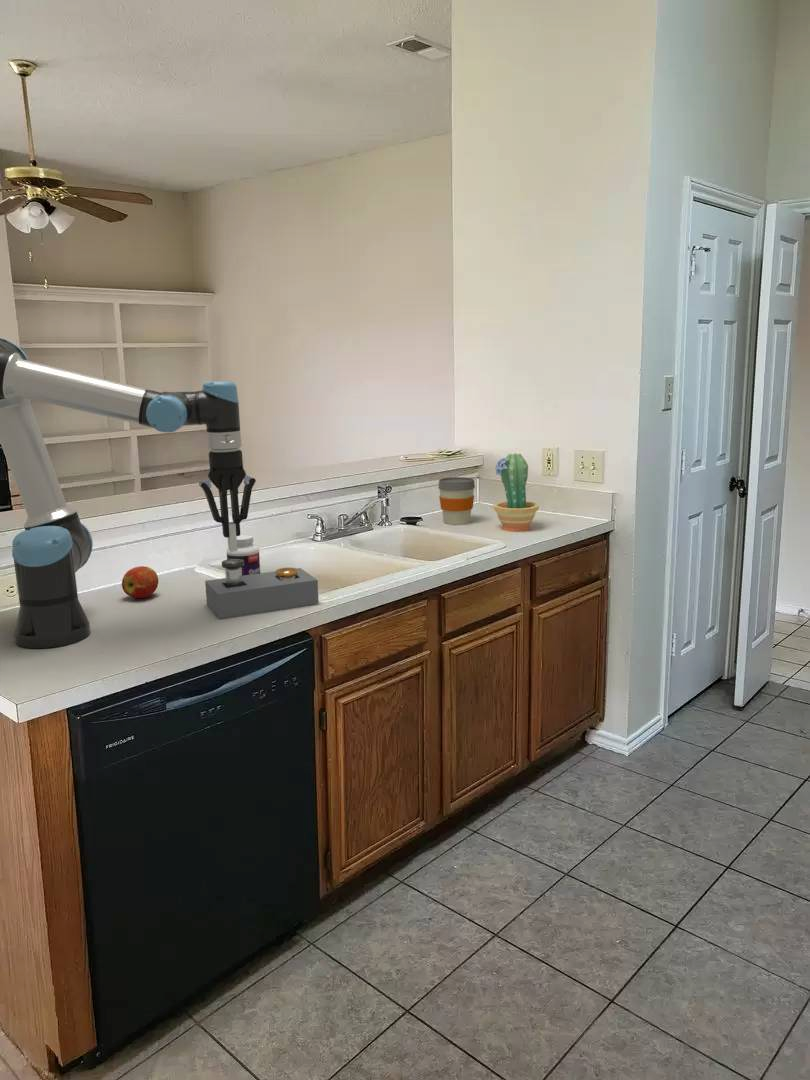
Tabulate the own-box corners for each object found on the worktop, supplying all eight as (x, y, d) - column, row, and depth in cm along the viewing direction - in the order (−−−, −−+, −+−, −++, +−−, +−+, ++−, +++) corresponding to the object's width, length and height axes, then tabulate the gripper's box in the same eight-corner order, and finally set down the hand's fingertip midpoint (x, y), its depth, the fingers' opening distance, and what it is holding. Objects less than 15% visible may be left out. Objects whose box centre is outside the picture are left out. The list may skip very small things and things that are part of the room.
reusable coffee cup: (477, 519, 298) (477, 477, 294) (471, 526, 286) (471, 483, 282) (442, 518, 301) (442, 476, 297) (435, 525, 289) (434, 482, 285)
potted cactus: (499, 522, 291) (499, 450, 286) (543, 525, 286) (544, 451, 280) (487, 532, 277) (487, 456, 271) (533, 534, 272) (534, 457, 266)
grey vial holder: (219, 619, 193) (217, 594, 191) (206, 604, 204) (205, 580, 203) (318, 603, 203) (317, 579, 201) (301, 590, 214) (300, 567, 213)
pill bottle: (254, 597, 209) (251, 541, 206) (224, 596, 210) (220, 540, 207) (266, 588, 217) (262, 534, 213) (236, 587, 218) (233, 533, 215)
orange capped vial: (281, 604, 203) (279, 574, 201) (275, 598, 207) (273, 569, 206) (301, 601, 205) (300, 571, 203) (295, 595, 209) (293, 566, 208)
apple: (118, 600, 210) (115, 569, 208) (142, 591, 217) (139, 561, 215) (142, 603, 206) (139, 572, 204) (166, 594, 214) (163, 564, 212)
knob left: (226, 596, 196) (224, 565, 195) (221, 590, 201) (219, 560, 199) (248, 593, 199) (246, 562, 197) (242, 587, 203) (240, 557, 201)
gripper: (199, 453, 186) (208, 557, 192) (257, 449, 192) (264, 549, 197) (193, 450, 193) (201, 550, 198) (248, 446, 198) (255, 543, 204)
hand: (232, 550), depth 198 cm, fingers closed
